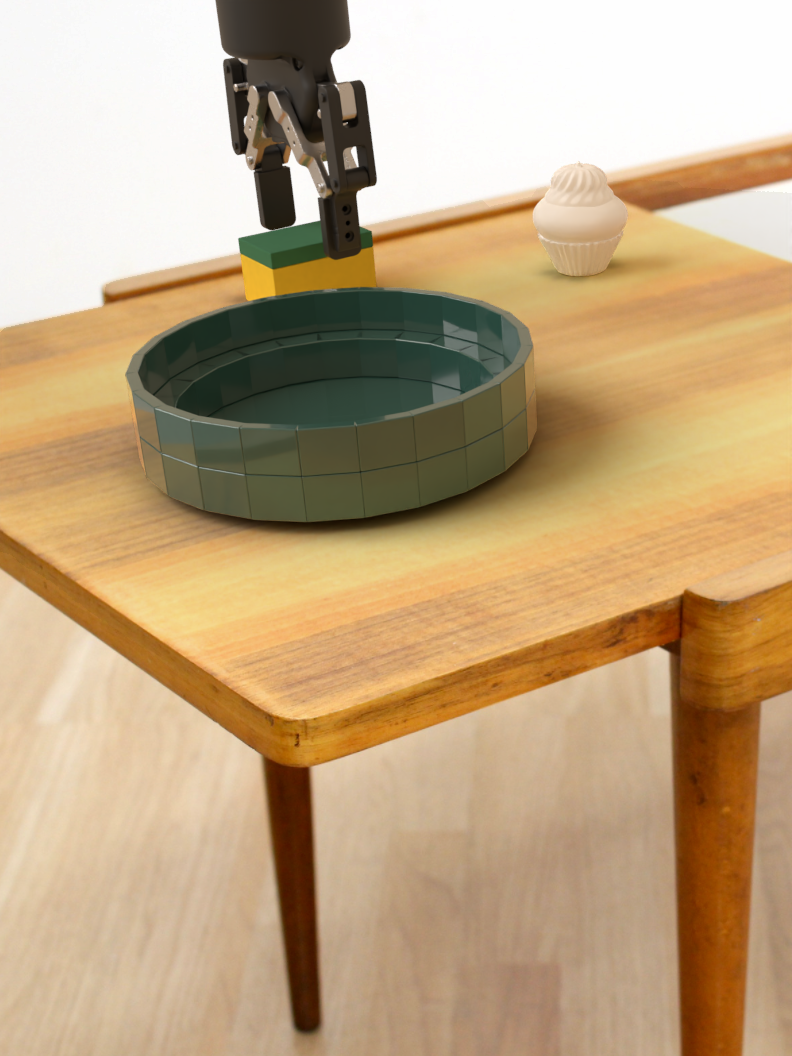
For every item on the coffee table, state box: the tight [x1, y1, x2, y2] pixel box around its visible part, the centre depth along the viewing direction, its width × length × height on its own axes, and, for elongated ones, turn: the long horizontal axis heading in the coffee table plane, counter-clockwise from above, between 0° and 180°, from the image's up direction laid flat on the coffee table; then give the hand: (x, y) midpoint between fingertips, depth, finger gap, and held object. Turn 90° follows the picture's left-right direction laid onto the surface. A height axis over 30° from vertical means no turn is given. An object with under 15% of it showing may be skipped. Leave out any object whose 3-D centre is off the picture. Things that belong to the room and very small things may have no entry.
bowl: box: [125, 286, 538, 523], centre depth 75 cm, size 19×19×5 cm
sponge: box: [237, 220, 378, 301], centre depth 97 cm, size 7×4×4 cm, turn 125°
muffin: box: [532, 160, 629, 277], centre depth 99 cm, size 6×6×7 cm
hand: (310, 241), depth 96 cm, fingers open, 8 cm apart
